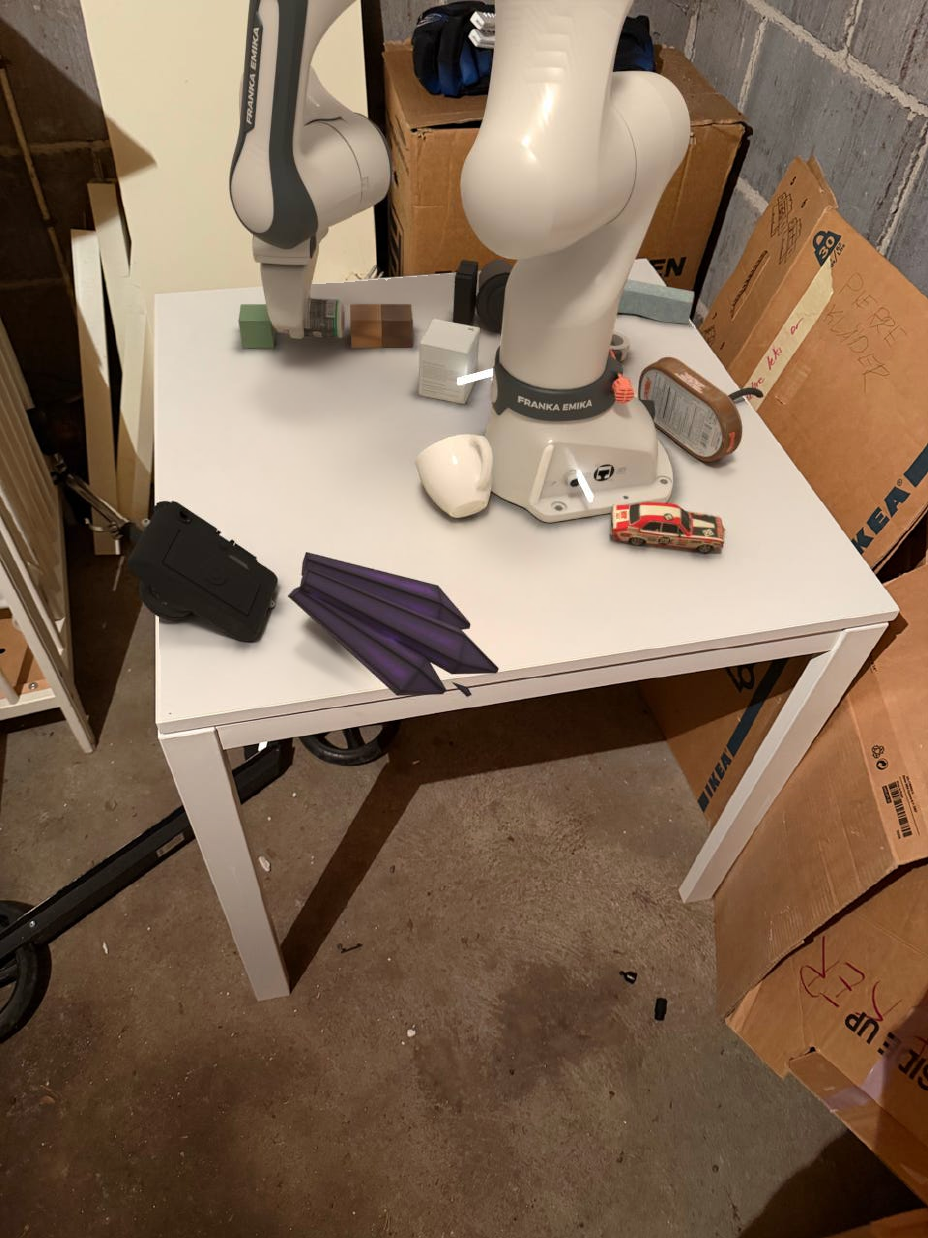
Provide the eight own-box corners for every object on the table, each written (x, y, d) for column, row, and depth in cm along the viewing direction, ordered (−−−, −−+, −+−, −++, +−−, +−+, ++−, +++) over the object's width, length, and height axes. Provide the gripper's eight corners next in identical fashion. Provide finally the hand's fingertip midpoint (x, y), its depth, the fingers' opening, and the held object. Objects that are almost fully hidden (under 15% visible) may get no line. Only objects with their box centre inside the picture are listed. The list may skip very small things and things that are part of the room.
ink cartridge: (459, 312, 122) (462, 256, 116) (475, 315, 122) (478, 259, 116) (451, 331, 119) (453, 274, 113) (467, 333, 119) (471, 277, 113)
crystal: (311, 544, 84) (496, 637, 87) (258, 645, 78) (457, 740, 81) (327, 508, 78) (525, 609, 81) (270, 614, 72) (485, 719, 75)
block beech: (381, 331, 119) (380, 303, 116) (382, 347, 116) (381, 320, 113) (351, 331, 118) (349, 303, 115) (351, 347, 116) (350, 320, 113)
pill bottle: (345, 334, 117) (281, 330, 117) (344, 296, 115) (279, 293, 115) (341, 342, 113) (274, 338, 113) (340, 303, 111) (272, 299, 110)
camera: (230, 664, 85) (255, 603, 90) (270, 635, 81) (294, 573, 86) (95, 584, 79) (130, 523, 84) (131, 547, 74) (165, 486, 80)
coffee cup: (537, 269, 124) (549, 295, 116) (504, 318, 128) (513, 346, 120) (489, 237, 120) (499, 262, 113) (457, 288, 124) (464, 316, 117)
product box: (432, 369, 113) (433, 317, 108) (477, 378, 112) (481, 326, 107) (417, 395, 109) (418, 342, 104) (464, 405, 109) (468, 352, 103)
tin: (732, 468, 103) (754, 408, 97) (713, 477, 102) (734, 416, 95) (646, 402, 111) (661, 342, 105) (627, 409, 110) (641, 349, 103)
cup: (479, 522, 98) (460, 468, 100) (529, 480, 91) (509, 421, 92) (421, 527, 94) (402, 470, 95) (469, 483, 86) (448, 422, 87)
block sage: (275, 331, 117) (272, 303, 114) (273, 348, 115) (270, 320, 112) (244, 331, 117) (240, 303, 114) (242, 348, 114) (238, 320, 111)
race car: (611, 523, 98) (612, 491, 95) (723, 529, 95) (728, 496, 92) (607, 554, 95) (608, 522, 91) (723, 561, 92) (728, 528, 89)
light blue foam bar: (539, 257, 126) (537, 270, 129) (529, 300, 125) (528, 312, 128) (696, 286, 125) (691, 299, 128) (688, 330, 124) (683, 341, 127)
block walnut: (411, 331, 119) (411, 303, 116) (412, 347, 116) (412, 319, 113) (381, 331, 119) (380, 303, 116) (382, 347, 116) (381, 320, 113)
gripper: (275, 176, 111) (286, 281, 121) (249, 255, 97) (264, 365, 108) (326, 179, 111) (332, 283, 121) (307, 258, 97) (316, 367, 108)
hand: (300, 322), depth 114 cm, fingers closed on pill bottle, 5 cm apart
